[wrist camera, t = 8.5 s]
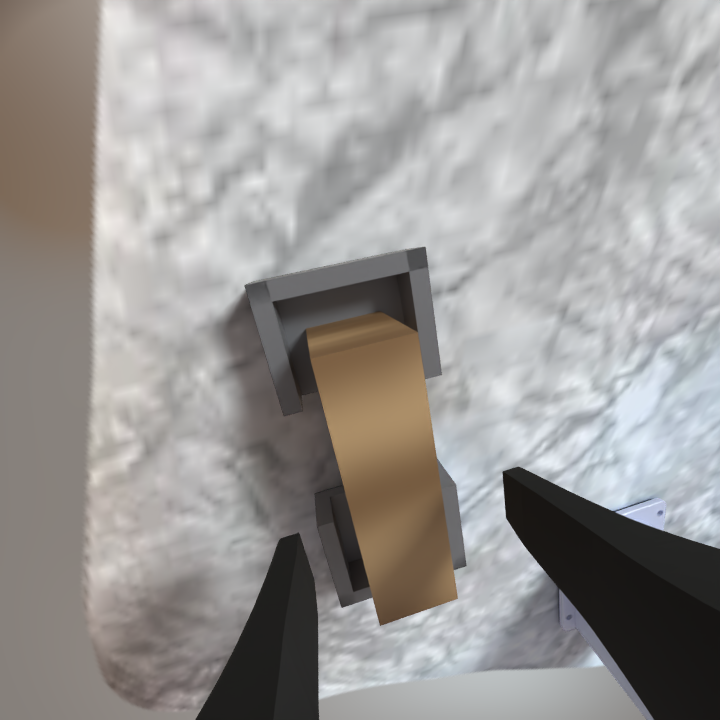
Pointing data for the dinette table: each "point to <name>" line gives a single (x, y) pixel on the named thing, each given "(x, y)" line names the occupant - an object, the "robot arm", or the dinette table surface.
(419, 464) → the brown wooden block
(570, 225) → the dinette table surface
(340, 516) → the end caps
